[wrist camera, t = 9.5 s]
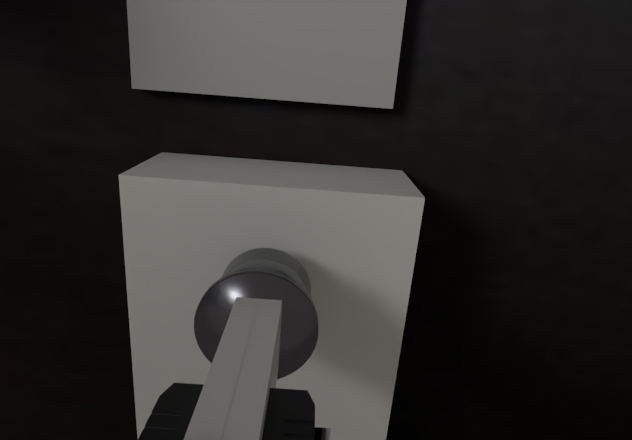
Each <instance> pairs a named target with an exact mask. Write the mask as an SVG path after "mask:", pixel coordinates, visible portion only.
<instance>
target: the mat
mask: <svg viewBox="0 0 632 440" xmlns="http://www.w3.org/2000/svg"><path fill="white" fill-rule="evenodd" d="M406 3H407V0H127V15H128V32H129V49H130V66H131V83H132V89H144V90H157V91H170V92H183V93H196V94H208V95H221V96H234V97H247V98H260V99H272V100H285V101H298V102H311V103H324V104H336V105H349V106H362V107H375V108H388V109H393V104H394V96H395V88H396V80H397V73H398V65H399V57H400V49H401V42H402V34H403V26H404V18H405V10H406Z"/></svg>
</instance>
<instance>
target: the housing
mask: <svg viewBox="0 0 632 440" xmlns="http://www.w3.org/2000/svg"><path fill="white" fill-rule="evenodd" d="M119 188H120V202H121V215H122V229H123V243H124V257H125V271H126V285H127V298H128V312H129V326H130V340H131V354H132V367H133V381H134V395H135V409H136V423H137V437H138V438H139V436H140V434H141V432H142V430H143V429H144V428H145V424H146V422H147V420H148V418H149V416H150V415H151V413H152V410H153V408H154V406H155V404H156V402H157V400H158V398H159V396H160V395H161V394H162V393H163V392H164V391H165V390H167V389H168V388H169V387H170V386H171V385H172V384H173V383H188V384H203V385H204V383H205V380H206V378H207V375H208V372H209V370H210V367H211V362H210V361H209V360H208V359H207V358H206V357H205V356H204V354H203V353H202V351H201V350H200V348H199V346H198V343H197V341H196V338H195V333H194V317H195V313H196V310H197V307H198V305H199V303H200V301H201V299H202V297H203V295H204V294H205V292H206V291H207V290H208V288H209V287H210V286H211V285H212V284H213V283H214V282H216V281H217V280H218V279H220V278H221V277H222V275H223V273H224V271H225V269H226V268H227V266H228V265H229V263H230V262H231V261H232V260H233V259H234V258H235V257H237V256H238V255H240V254H242V253H243V252H246V251H248V250H252V249H256V248H272V249H277V250H280V251H283V252H286V253H287V254H289V255H291V256H292V257H294V258H295V259H296V260H297V261H299V262H300V263H301V265H302V266H303V267H304V269H305V270H306V272H307V274H308V276H309V279H310V284H311V299H312V301H313V303H314V305H315V307H316V311H317V314H318V340H317V344H316V347H315V349H314V351H313V353H312V355H311V356H310V358H309V359H308V360H307V362H306V363H305V364H304V365H303V366H302V367H300V368H299V369H298V370H297V371H295V372H293V373H292V374H290V375H288V376H286V377H283V378H280V379H277V383H276V388H280V389H295V390H308V392H309V394H310V396H311V398H312V400H313V402H314V404H315V427H319V428H322V436H321V440H386V436H387V430H388V424H389V418H390V412H391V405H392V399H393V393H394V387H395V381H396V375H397V368H398V362H399V356H400V350H401V344H402V337H403V331H404V325H405V319H406V313H407V307H408V300H409V294H410V288H411V282H412V276H413V270H414V263H415V257H416V251H417V245H418V239H419V233H420V226H421V220H422V214H423V208H424V202H425V197H424V196H423V195H422V194H421V192H420V191H419V190H418V189H417V188H416V186H415V185H414V184H413V183H412V182H411V180H410V179H409V178H408V177H407V176H406V174H405V173H404V172H403V171H402V170H390V169H376V168H363V167H350V166H337V165H324V164H310V163H297V162H284V161H271V160H257V159H244V158H231V157H218V156H204V155H191V154H178V153H165V152H162V153H160V154H158V155H156V156H154V157H152V158H150V159H148V160H146V161H145V162H143V163H141V164H139V165H137V166H135V167H133V168H131V169H129V170H127V171H125V172H123V173H122V174H120V175H119Z"/></svg>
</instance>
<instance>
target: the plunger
mask: <svg viewBox="0 0 632 440" xmlns="http://www.w3.org/2000/svg"><path fill="white" fill-rule="evenodd" d="M236 297H243V298H257V299H271V300H282V314H281V331H280V349H279V366H278V376H277V379H280V378H283V377H286V376H288V375H290V374H292V373H293V372H295V371H297V370H298V369H299V368H300V367H302V366H303V365H304V364H305V363H306V362H307V360H308V359H309V358H310V356H311V355H312V353H313V351H314V349H315V347H316V344H317V340H318V314H317V311H316V307H315V305H314V303H313V301H312V299H311V284H310V279H309V276H308V274H307V272H306V270H305V269H304V267H303V266H302V265H301V263H300V262H299V261H297V260H296V259H295V258H294V257H292V256H291V255H289V254H287V253H286V252H283V251H280V250H277V249H272V248H256V249H252V250H248V251H246V252H243V253H242V254H240V255H238V256H237V257H235V258H234V259H233V260H232V261H231V262H230V263H229V265H228V266H227V268H226V269H225V271H224V273H223V275H222V277H221V278H220V279H218V280H217V281H216V282H214V283H213V284H212V285H211V286H210V287H209V288H208V290H207V291H206V292H205V294H204V295H203V297H202V299H201V301H200V303H199V305H198V307H197V310H196V313H195V317H194V333H195V338H196V341H197V343H198V346H199V348H200V350H201V351H202V353H203V354H204V356H205V357H206V358H207V359H208V360H209V361H210V362H211V364H212V362H213V359H214V356H215V353H216V351H217V348H218V345H219V343H220V340H221V337H222V335H223V332H224V329H225V327H226V324H227V321H228V318H229V316H230V313H231V310H232V308H233V305H234V302H235V300H236Z"/></svg>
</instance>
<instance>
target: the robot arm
mask: <svg viewBox="0 0 632 440" xmlns="http://www.w3.org/2000/svg"><path fill="white" fill-rule="evenodd" d="M281 314H282V300H271V299H257V298H243V297H236V300H235V302H234V305H233V308H232V310H231V313H230V316H229V318H228V321H227V324H226V327H225V329H224V332H223V335H222V337H221V340H220V343H219V345H218V348H217V351H216V353H215V356H214V359H213V362H212V364H211V367H210V370H209V372H208V375H207V378H206V380H205V383H204V385H203V384H188V383H173V384H172V385H171V386H170V387H169V388H168V389H167V390H165V391H164V392H163V393H162V394H161V395H160V396H159V398H158V400H157V402H156V404H155V406H154V408H153V410H152V413H151V415H150V416H149V418H148V420H147V422H146V424H145V428H144V429H143V430H142V432H141V434H140V436H139V438H138V440H315V439H314V438H315V404H314V402H313V400H312V398H311V396H310V394H309V392H308V390H295V389H280V388H276V383H277V376H278V366H279V349H280V331H281Z"/></svg>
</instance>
